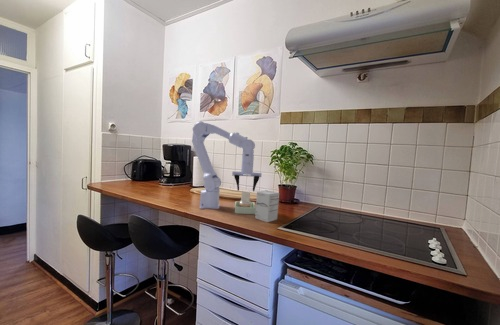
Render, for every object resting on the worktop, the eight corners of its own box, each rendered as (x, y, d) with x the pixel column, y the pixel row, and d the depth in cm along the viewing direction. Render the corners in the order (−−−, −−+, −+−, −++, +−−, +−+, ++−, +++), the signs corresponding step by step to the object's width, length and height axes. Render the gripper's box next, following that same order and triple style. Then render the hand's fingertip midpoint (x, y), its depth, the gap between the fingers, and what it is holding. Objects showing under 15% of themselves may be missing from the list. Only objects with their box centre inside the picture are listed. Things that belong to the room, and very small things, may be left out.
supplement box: (254, 219, 104) (256, 191, 104) (265, 216, 110) (266, 189, 109) (267, 223, 99) (269, 194, 99) (277, 220, 105) (279, 192, 104)
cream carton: (241, 201, 115) (241, 191, 115) (241, 200, 119) (241, 190, 119) (249, 202, 115) (249, 192, 115) (249, 200, 119) (249, 190, 119)
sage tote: (234, 214, 110) (235, 206, 110) (234, 207, 122) (235, 201, 122) (255, 215, 111) (256, 207, 111) (253, 208, 123) (254, 202, 123)
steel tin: (239, 211, 115) (239, 202, 114) (239, 208, 120) (239, 199, 120) (250, 211, 115) (251, 202, 115) (250, 208, 121) (250, 200, 120)
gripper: (232, 163, 112) (231, 191, 113) (262, 165, 113) (261, 192, 114) (233, 162, 119) (231, 188, 120) (261, 164, 120) (259, 190, 121)
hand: (245, 190), depth 117 cm, fingers open, 7 cm apart
